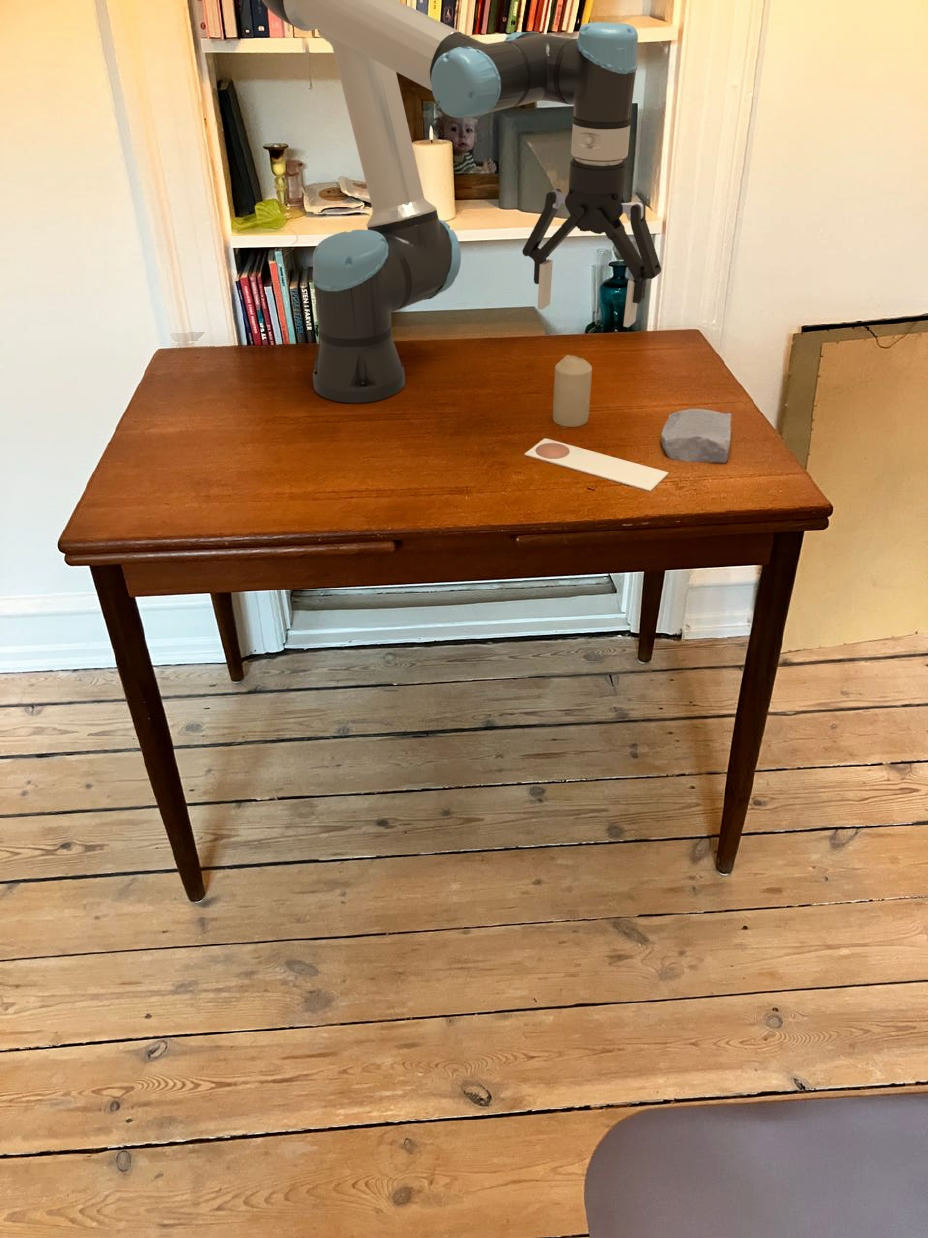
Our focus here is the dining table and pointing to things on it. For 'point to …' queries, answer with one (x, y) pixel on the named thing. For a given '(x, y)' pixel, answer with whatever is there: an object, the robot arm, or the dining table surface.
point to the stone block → (697, 436)
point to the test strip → (597, 464)
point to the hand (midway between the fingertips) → (585, 315)
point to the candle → (572, 391)
